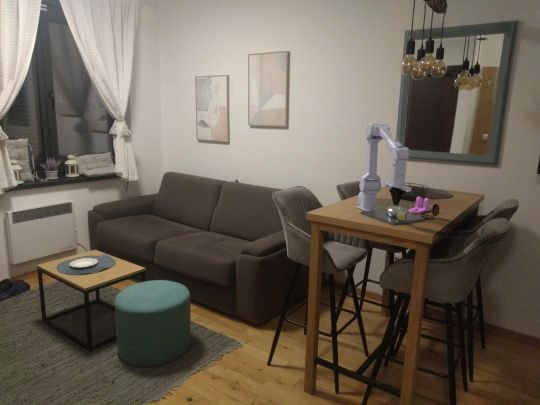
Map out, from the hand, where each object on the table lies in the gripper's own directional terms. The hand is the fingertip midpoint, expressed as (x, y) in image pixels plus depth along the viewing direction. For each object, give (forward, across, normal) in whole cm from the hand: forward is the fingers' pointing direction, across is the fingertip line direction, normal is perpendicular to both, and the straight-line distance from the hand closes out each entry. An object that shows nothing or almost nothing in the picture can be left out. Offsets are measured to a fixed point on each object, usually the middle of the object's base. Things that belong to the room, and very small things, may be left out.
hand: (395, 204), depth 185 cm
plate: (+9, -9, +7) cm, 14 cm away
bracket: (+9, -13, +28) cm, 32 cm away
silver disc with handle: (+7, -4, +6) cm, 11 cm away
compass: (+9, 0, +23) cm, 24 cm away
